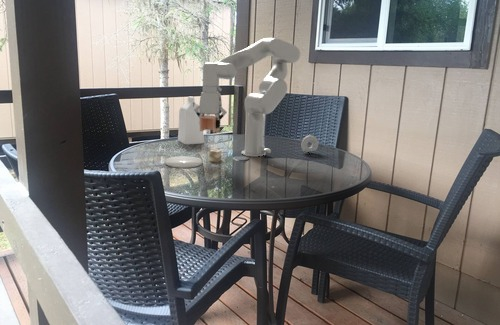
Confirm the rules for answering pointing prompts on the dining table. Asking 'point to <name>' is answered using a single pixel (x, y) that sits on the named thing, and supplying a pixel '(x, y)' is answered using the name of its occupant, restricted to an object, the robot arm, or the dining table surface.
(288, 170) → the dining table surface
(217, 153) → the block
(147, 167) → the dining table surface
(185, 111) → the milk
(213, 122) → the cover
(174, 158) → the plate
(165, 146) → the dining table surface
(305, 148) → the donut
